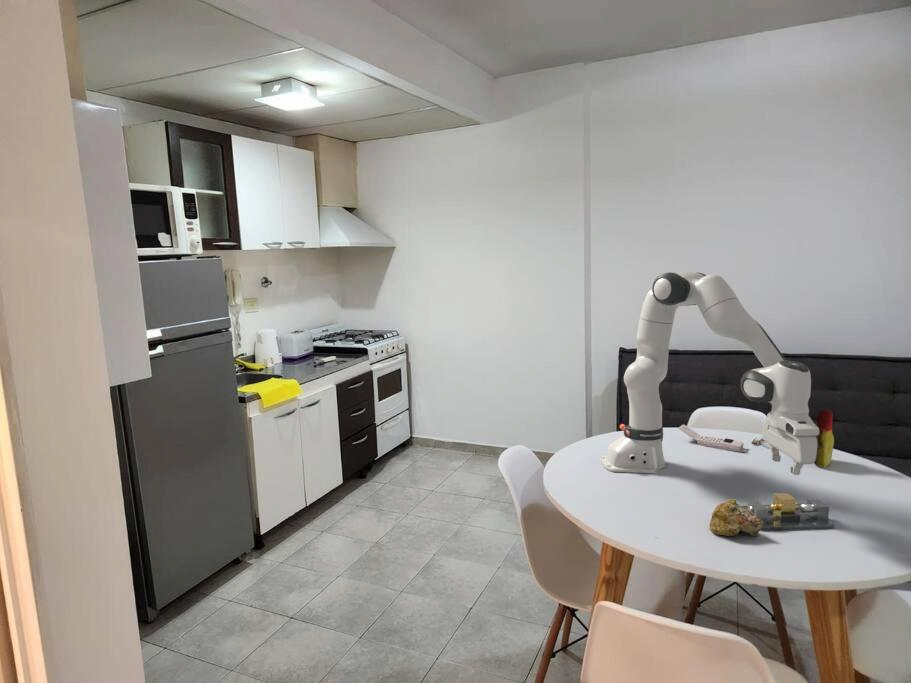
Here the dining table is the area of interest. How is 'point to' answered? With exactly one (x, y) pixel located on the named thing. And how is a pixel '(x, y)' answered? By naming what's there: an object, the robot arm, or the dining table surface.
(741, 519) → the rock
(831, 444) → the red yellow oblong piece
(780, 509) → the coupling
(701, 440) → the mobile phone
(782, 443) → the robot arm
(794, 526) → the dark grey baseplate
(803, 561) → the dining table surface
